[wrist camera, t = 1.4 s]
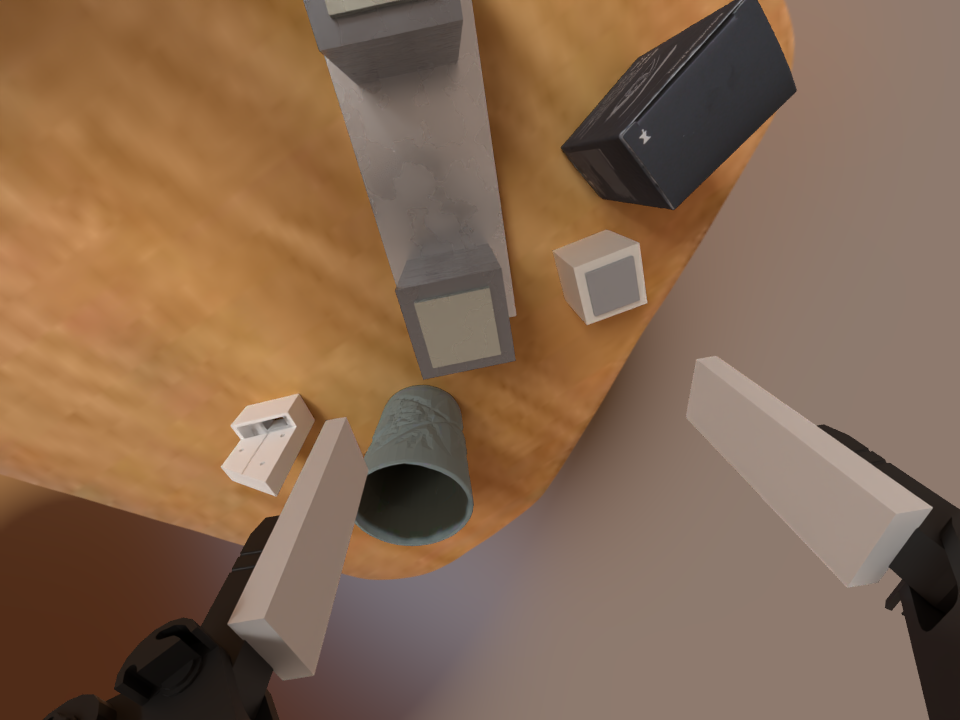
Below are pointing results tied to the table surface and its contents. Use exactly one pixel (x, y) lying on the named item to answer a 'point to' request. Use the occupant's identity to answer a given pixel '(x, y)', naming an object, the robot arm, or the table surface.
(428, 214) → the rail plate
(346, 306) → the table surface
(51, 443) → the table surface
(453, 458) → the grey green plant pot
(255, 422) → the white slotted bracket
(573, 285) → the block
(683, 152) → the box
